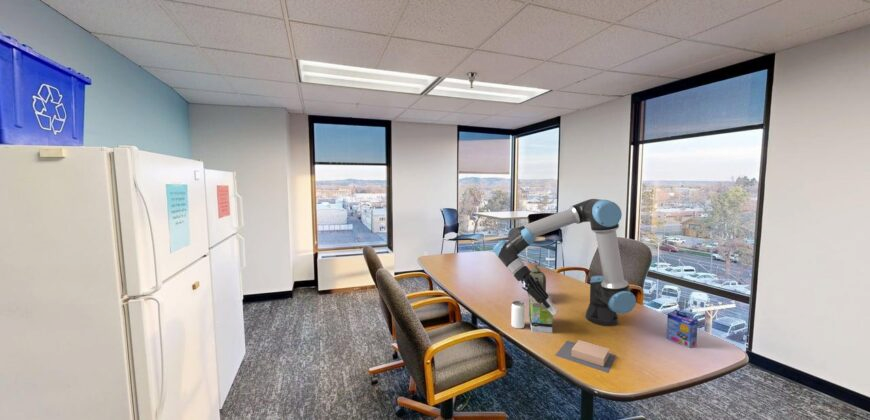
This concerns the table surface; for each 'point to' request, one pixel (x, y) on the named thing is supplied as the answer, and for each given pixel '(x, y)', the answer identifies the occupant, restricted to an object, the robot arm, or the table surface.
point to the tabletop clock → (538, 276)
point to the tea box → (540, 317)
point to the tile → (590, 352)
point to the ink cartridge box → (682, 329)
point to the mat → (566, 354)
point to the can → (518, 315)
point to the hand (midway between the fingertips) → (555, 313)
